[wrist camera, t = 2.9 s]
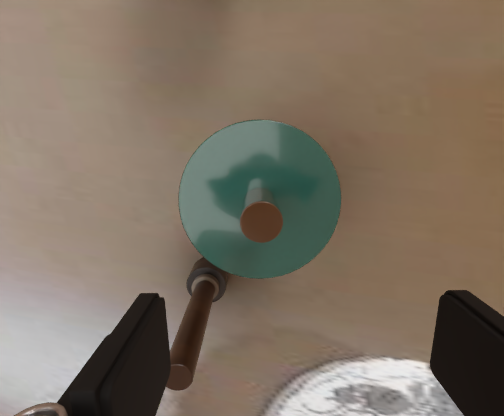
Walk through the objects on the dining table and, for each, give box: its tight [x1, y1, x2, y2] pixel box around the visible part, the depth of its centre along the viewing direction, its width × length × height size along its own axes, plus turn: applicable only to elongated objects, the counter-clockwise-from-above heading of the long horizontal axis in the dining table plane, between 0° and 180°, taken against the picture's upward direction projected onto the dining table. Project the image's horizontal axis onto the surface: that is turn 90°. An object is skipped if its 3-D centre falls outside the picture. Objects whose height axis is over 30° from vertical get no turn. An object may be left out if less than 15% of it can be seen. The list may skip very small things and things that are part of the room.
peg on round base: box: [166, 258, 228, 390], centre depth 28 cm, size 4×4×16 cm
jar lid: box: [179, 120, 341, 279], centre depth 21 cm, size 12×12×6 cm
